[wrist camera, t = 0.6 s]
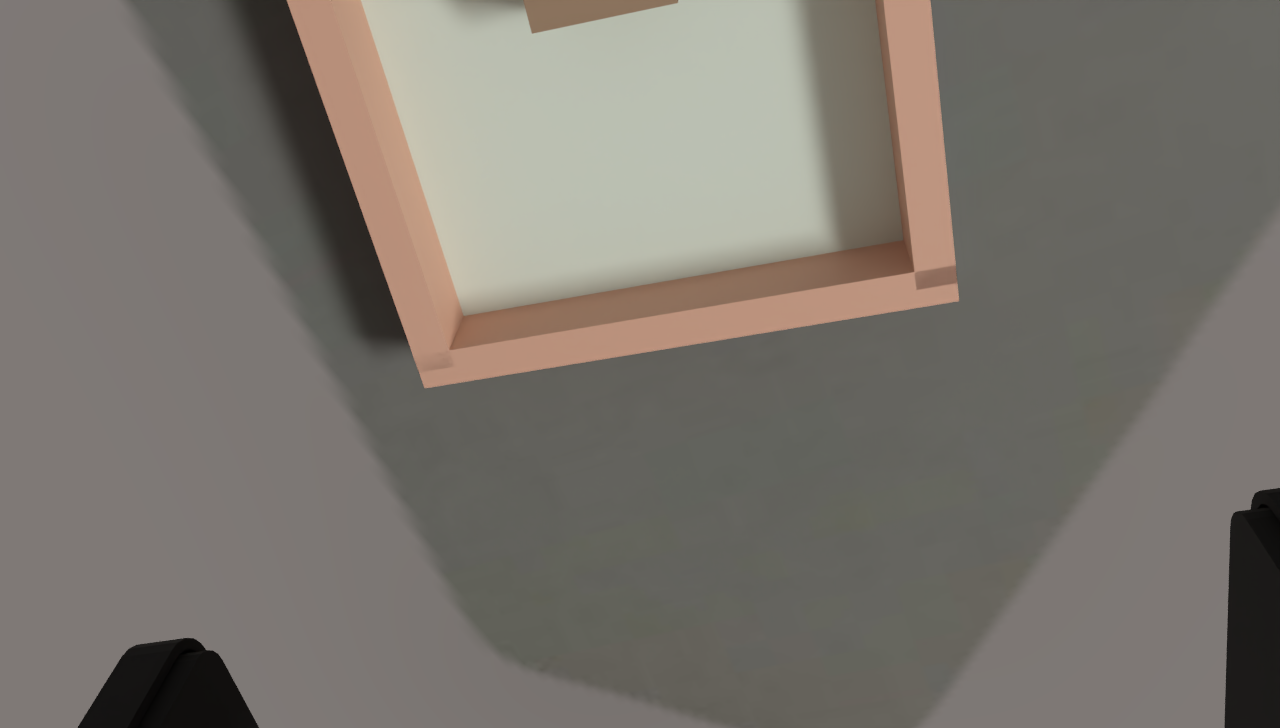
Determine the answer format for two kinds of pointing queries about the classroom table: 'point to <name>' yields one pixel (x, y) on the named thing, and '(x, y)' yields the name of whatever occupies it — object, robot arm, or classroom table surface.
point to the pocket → (648, 311)
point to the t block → (581, 11)
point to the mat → (639, 139)
